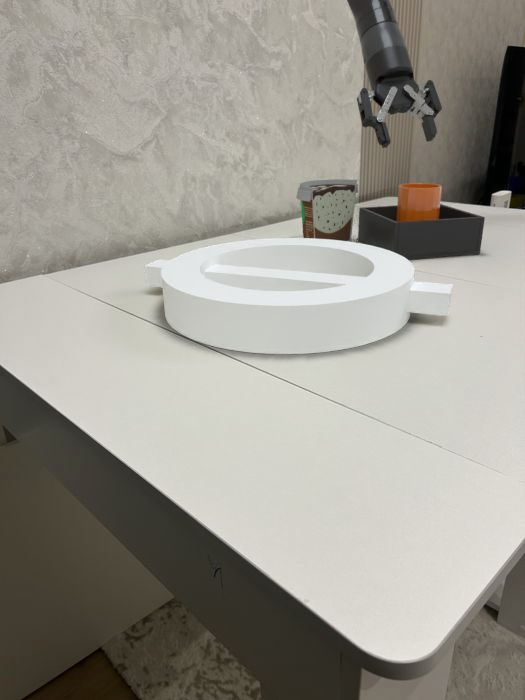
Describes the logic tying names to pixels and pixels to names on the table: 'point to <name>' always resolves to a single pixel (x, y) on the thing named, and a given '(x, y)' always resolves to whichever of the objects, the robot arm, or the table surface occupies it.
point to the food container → (328, 208)
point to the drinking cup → (418, 202)
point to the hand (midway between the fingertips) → (409, 142)
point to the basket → (422, 233)
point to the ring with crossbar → (292, 294)
